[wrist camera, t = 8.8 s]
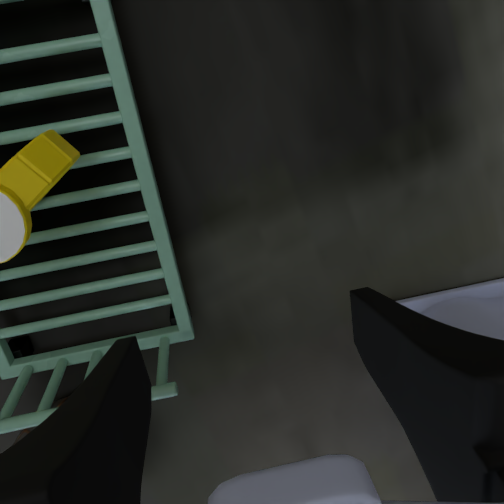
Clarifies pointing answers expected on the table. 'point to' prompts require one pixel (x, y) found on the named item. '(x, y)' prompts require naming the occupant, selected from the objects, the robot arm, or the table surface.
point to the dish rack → (90, 230)
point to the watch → (29, 186)
